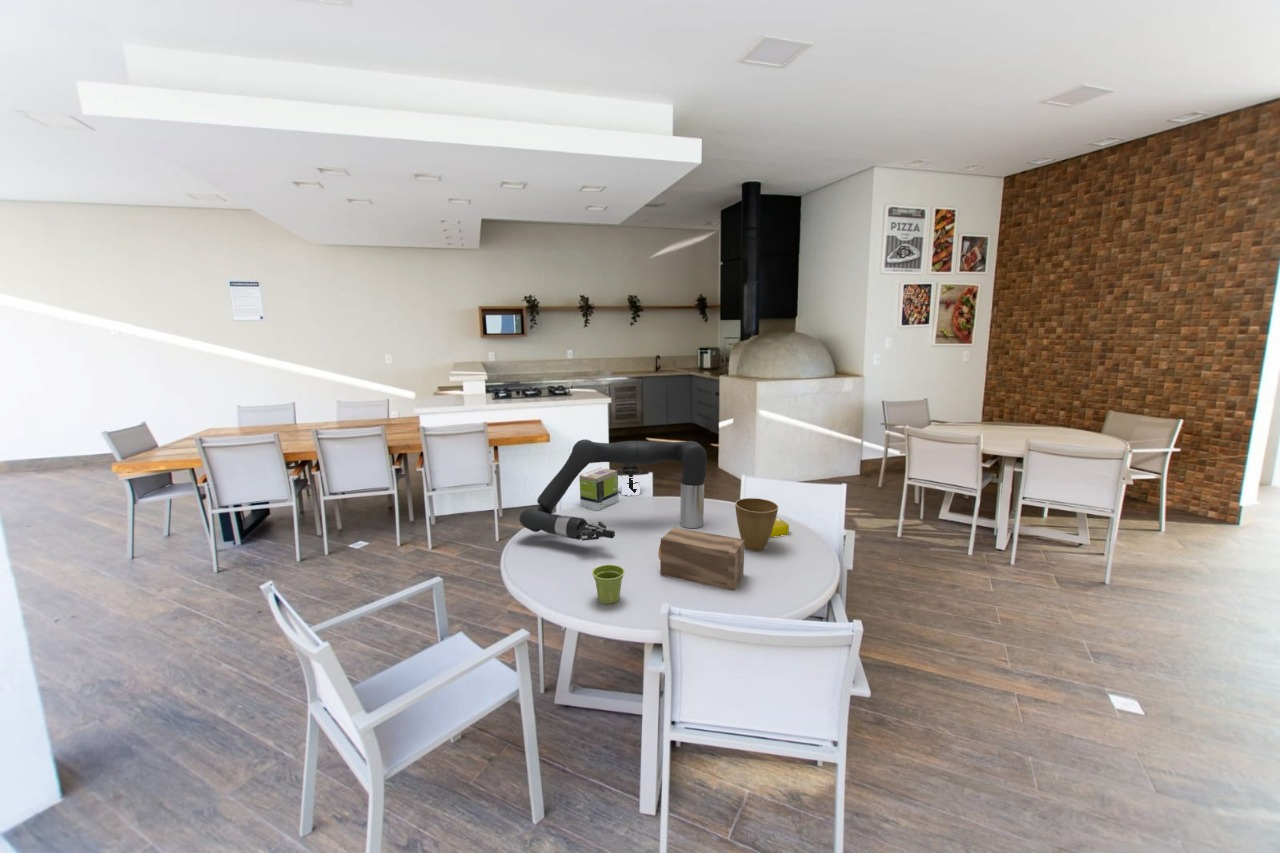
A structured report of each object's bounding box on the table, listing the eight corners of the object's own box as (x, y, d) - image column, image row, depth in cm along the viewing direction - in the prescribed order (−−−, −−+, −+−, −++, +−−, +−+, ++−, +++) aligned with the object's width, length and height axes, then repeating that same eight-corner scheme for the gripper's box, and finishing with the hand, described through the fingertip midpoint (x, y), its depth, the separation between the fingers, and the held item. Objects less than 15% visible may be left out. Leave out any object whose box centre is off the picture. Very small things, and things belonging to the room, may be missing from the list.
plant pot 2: (743, 557, 185) (745, 513, 182) (727, 540, 200) (729, 499, 197) (783, 553, 188) (785, 510, 185) (765, 537, 203) (767, 496, 200)
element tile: (790, 535, 205) (791, 523, 205) (755, 540, 201) (756, 528, 200) (769, 522, 219) (769, 510, 218) (736, 526, 215) (736, 515, 214)
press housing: (673, 560, 183) (673, 527, 180) (743, 575, 173) (744, 539, 170) (660, 574, 173) (660, 539, 170) (733, 590, 163) (735, 553, 160)
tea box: (601, 498, 248) (601, 466, 245) (618, 502, 242) (618, 470, 239) (579, 507, 236) (578, 474, 233) (597, 511, 230) (596, 478, 227)
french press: (641, 490, 260) (641, 443, 255) (642, 496, 250) (642, 447, 246) (617, 490, 259) (616, 443, 255) (617, 496, 250) (617, 448, 245)
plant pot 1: (586, 604, 155) (586, 575, 153) (600, 589, 163) (600, 562, 162) (617, 610, 151) (616, 581, 150) (629, 594, 160) (629, 567, 158)
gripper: (560, 523, 185) (604, 531, 178) (580, 511, 197) (622, 518, 190) (560, 544, 187) (604, 552, 179) (580, 530, 198) (623, 538, 191)
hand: (613, 534), depth 185 cm, fingers closed
